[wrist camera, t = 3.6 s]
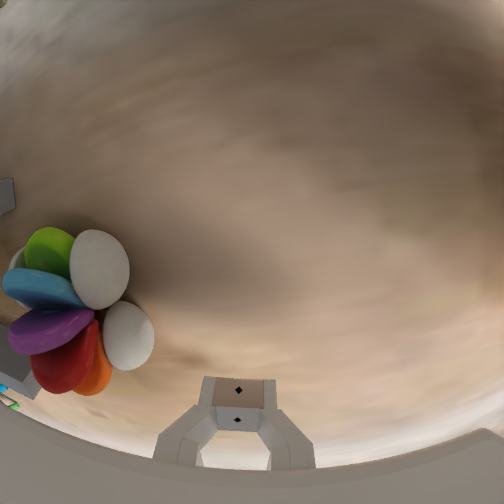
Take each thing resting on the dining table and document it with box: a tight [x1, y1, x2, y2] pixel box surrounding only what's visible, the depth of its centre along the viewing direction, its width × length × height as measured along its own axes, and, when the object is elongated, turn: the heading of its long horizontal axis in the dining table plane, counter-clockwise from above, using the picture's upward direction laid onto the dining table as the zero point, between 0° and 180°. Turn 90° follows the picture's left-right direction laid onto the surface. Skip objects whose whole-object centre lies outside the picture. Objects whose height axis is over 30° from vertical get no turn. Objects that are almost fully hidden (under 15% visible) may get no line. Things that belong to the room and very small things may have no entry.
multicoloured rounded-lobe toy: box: [2, 227, 154, 396], centre depth 13 cm, size 8×10×7 cm
